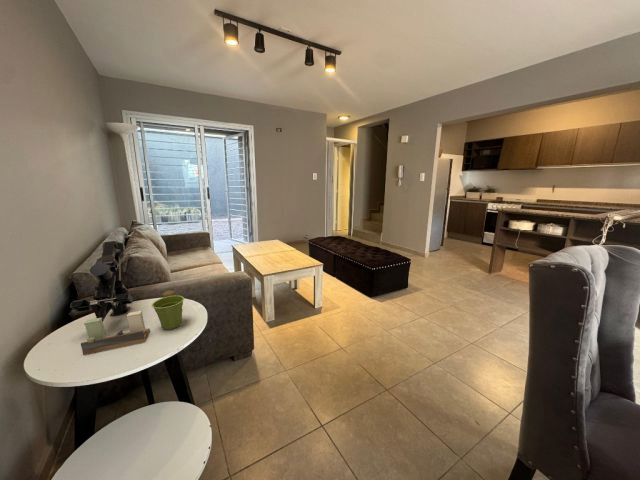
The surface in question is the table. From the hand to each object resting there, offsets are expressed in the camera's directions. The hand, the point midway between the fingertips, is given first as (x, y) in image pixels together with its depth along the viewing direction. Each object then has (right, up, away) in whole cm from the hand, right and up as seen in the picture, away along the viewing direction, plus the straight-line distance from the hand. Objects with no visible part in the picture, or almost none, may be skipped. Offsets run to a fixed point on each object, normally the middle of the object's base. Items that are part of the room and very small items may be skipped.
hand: (100, 322), depth 99 cm
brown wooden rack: (+8, -7, -1) cm, 11 cm away
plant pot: (+23, -5, +10) cm, 25 cm away
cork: (+16, -2, +20) cm, 26 cm away
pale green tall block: (+2, -6, -3) cm, 7 cm away
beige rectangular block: (+14, -5, +2) cm, 15 cm away
